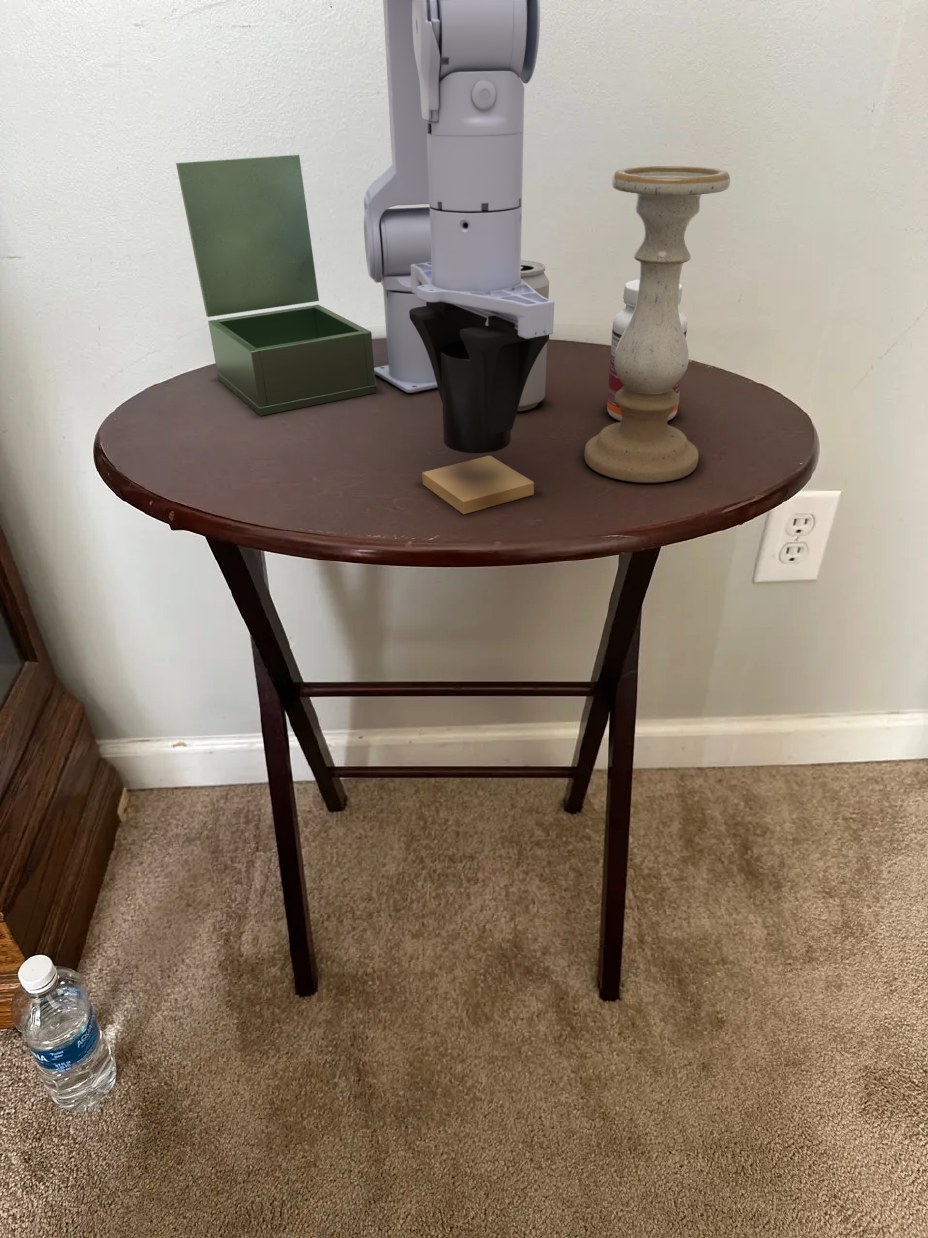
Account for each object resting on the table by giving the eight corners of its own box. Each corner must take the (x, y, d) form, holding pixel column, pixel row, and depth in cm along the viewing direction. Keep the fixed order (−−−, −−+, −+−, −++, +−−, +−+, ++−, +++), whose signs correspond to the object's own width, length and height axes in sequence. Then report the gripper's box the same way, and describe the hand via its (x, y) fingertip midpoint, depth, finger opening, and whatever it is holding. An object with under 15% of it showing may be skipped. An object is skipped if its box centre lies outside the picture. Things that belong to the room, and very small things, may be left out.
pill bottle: (653, 399, 79) (667, 273, 72) (690, 421, 74) (708, 288, 68) (593, 408, 77) (602, 280, 71) (627, 431, 72) (640, 295, 66)
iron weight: (431, 437, 61) (428, 346, 58) (487, 424, 63) (487, 335, 60) (465, 459, 58) (464, 363, 54) (523, 444, 60) (526, 351, 56)
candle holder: (561, 462, 66) (576, 172, 55) (626, 432, 72) (652, 161, 60) (656, 495, 61) (694, 182, 50) (718, 459, 67) (765, 169, 55)
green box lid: (299, 154, 80) (297, 154, 81) (177, 162, 75) (175, 162, 76) (319, 300, 87) (317, 300, 87) (208, 317, 82) (206, 316, 82)
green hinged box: (376, 392, 81) (371, 331, 78) (260, 416, 76) (250, 351, 73) (324, 360, 90) (318, 304, 87) (218, 379, 85) (207, 320, 82)
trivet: (490, 467, 66) (490, 454, 66) (533, 494, 62) (534, 482, 61) (422, 484, 64) (422, 472, 63) (463, 514, 59) (463, 501, 59)
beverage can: (540, 416, 75) (545, 273, 69) (469, 412, 76) (467, 271, 70) (548, 393, 80) (554, 258, 74) (482, 389, 81) (482, 256, 75)
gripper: (366, 198, 56) (380, 400, 63) (482, 227, 45) (483, 465, 53) (458, 189, 59) (461, 383, 66) (587, 215, 48) (574, 441, 56)
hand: (477, 418), depth 60 cm, fingers closed on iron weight, 5 cm apart
